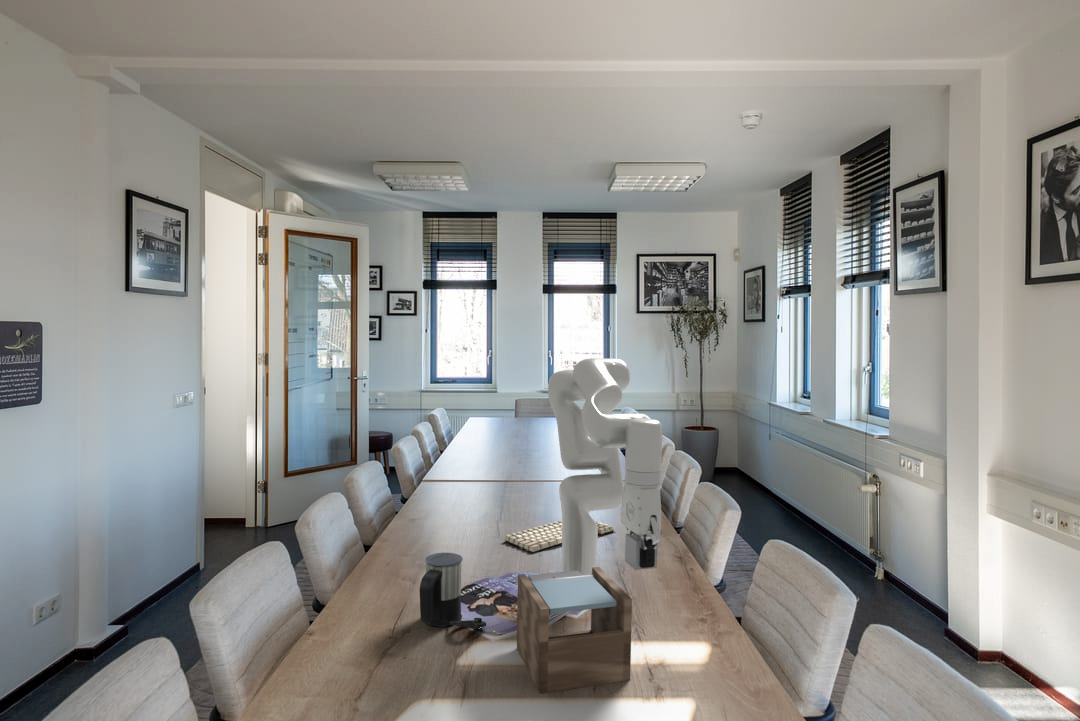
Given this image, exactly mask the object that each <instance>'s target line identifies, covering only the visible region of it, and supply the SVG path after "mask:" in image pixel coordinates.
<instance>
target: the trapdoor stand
mask: <svg viewBox="0 0 1080 721" xmlns="http://www.w3.org/2000/svg"><path fill="white" fill-rule="evenodd" d="M592 575H594V578H595V580H596V581H597V582H598V583H599V584H600V585H601V586H602V587H603V588H604V589H605V590H606V591H607V592H608V593H609V594H610V595H611V596H612V597H613V598H614V599H615V600H616V606H614V607H605V608H596V609H590V630H581V631H580V630H579V631H573V632H565V633H557V634H556V633H555V634H549V633H550V632H549V627H550V623H549V622H550V613H549V608H548V606H547V605H546V604H545V602H544V601H543V599H542V598H541V596H540V595H539V593H538V592H537V591H536V589H535V588H534V586H533V585H532V583H531V582H530V580H529V579H528V576H527V575H526V573H519V574H517V600H516V601H517V602H516V603H517V604H516V606H517V608H516V610H517V611H516V613H517V614H516V650H517V652H518V653H519V656H520V657H521V659H522V662H523V663H524V665H525V667H526V670H527V672H528V674H529V675H530V678H531V680H532V681H533V683H534V686H535V687H536V689H537V692H538V694H546V693H551V692H559V691H564V690H572V689H578V688H584V687H585V688H586V687H591V686H597V685H604V684H611V683H618V682H619V683H620V682H625V681H630V680H631V659H632V658H631V657H632V655H631V653H632V623H633V622H632V617H633V615H632V614H633V599H632V598H631V597H630V596H629V595H628V594H627V592H625V591H624V590H623V589H622V587H620V586H619V585H618V584H617V583H616V582H615V581H614V580H613V579H612V578H611V577H610V576H609V575H608V574H607V573H606V572H605V571H604V570H603V569H601V567H599V566H597V567H592Z"/></svg>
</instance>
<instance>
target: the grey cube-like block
mask: <svg viewBox="0 0 1080 721" xmlns="http://www.w3.org/2000/svg"><path fill="white" fill-rule="evenodd" d="M648 539H651V537H650V536H649V537H646V542H647V540H648ZM658 543H659V542H658ZM658 543H657V545H656V549H655V565H654V567H649V568H641V567H640V549H641V548H642V543H641V536H638V535H637V534H635V533H632V534H627V533H626V534H625V543H624V544H625V546H624V547H625V548H624V549H625V550H624V562H625V563H626V564H628V566H630V567H631V568H632V569H634V571H638V570H639V571H641V570H648V569H657V567H658V545H659V544H658Z"/></svg>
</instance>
